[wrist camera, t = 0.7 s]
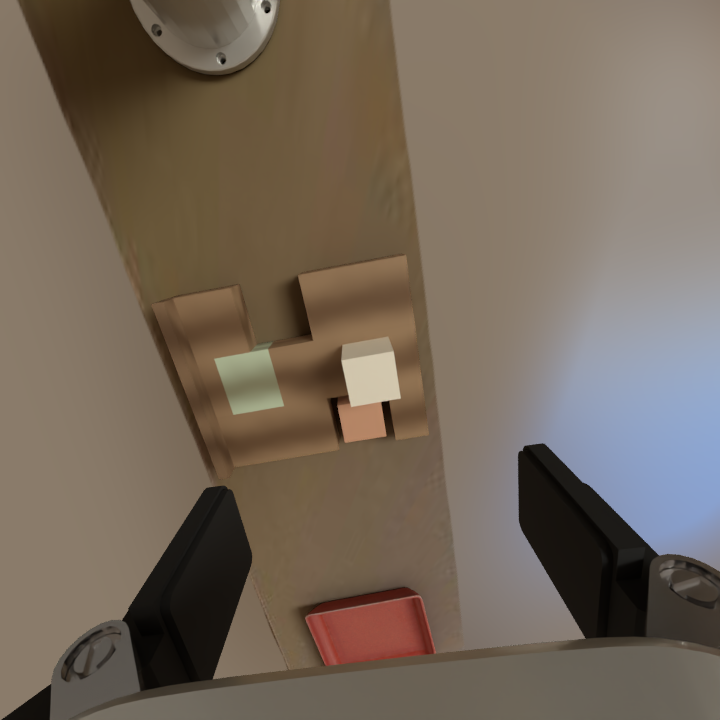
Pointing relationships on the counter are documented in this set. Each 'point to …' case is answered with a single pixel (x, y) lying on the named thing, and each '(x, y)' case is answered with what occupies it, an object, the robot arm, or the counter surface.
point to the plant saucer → (371, 627)
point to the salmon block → (360, 420)
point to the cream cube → (370, 371)
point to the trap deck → (290, 362)
